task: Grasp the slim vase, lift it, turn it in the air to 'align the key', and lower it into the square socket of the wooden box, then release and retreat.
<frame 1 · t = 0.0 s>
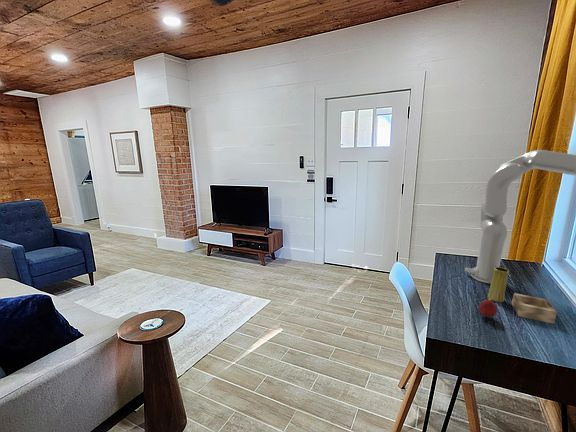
vase: (495, 299, 124), on the table
wooden box: (531, 312, 113), on the table
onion: (486, 317, 110), on the table
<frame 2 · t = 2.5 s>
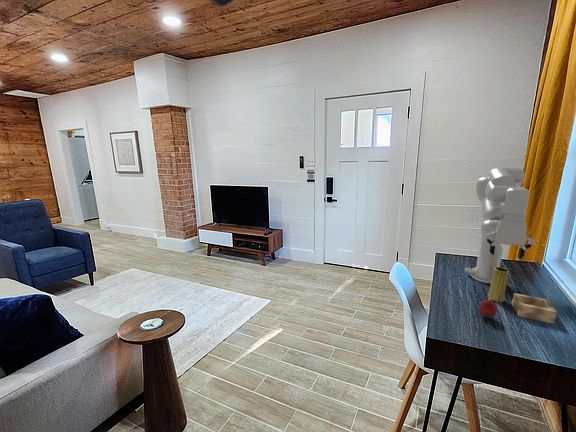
hand: (505, 256, 120), 21 cm above the table, fingers open, 9 cm apart
nothing on the table moved.
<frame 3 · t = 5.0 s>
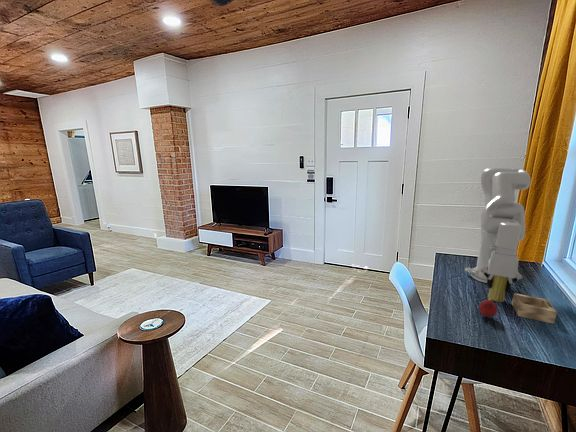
hand: (497, 288, 123), 5 cm above the table, fingers closed on vase, 5 cm apart
vase: (495, 299, 124), on the table, touching gripper
everything else where it was.
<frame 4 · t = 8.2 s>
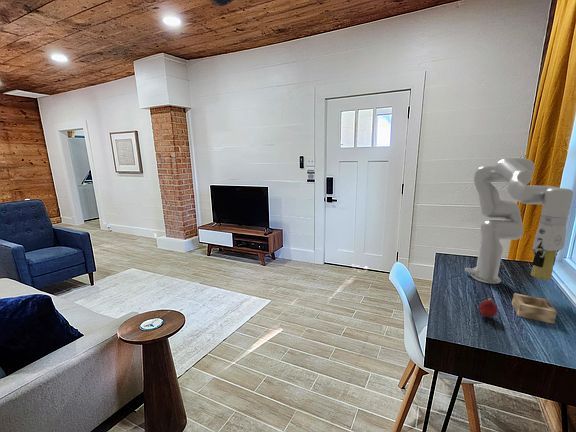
hand: (543, 264, 108), 21 cm above the table, fingers closed on vase, 5 cm apart
vase: (540, 277, 109), point 16 cm above the table, touching gripper
everything else where it was.
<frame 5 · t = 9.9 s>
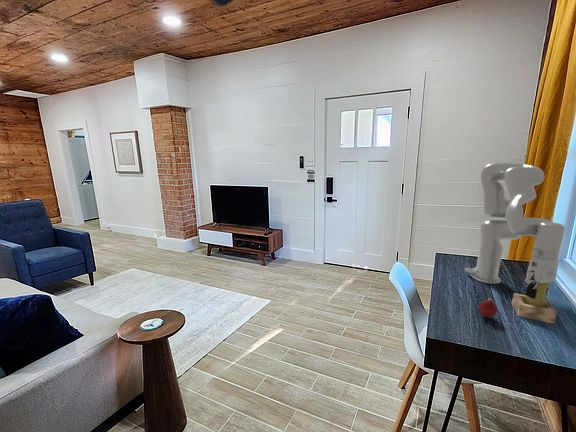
hand: (535, 295, 111), 8 cm above the table, fingers closed on vase, 5 cm apart
vase: (533, 307, 112), point 3 cm above the table, touching gripper
everything else where it was.
when the fingers open (6 cm above the table, at t = 11.4 s): vase drops 1 cm, resting in wooden box.
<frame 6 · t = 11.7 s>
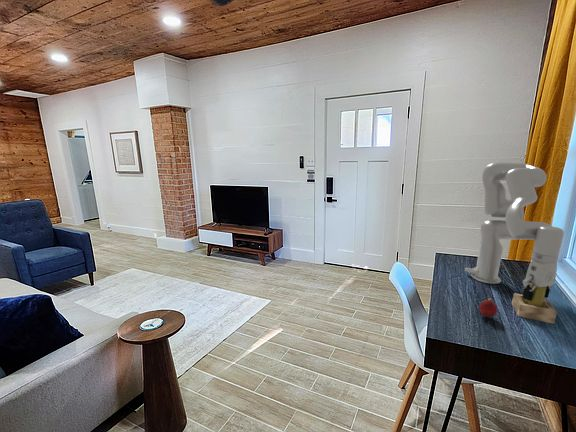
hand: (535, 297, 112), 7 cm above the table, fingers open, 8 cm apart
vase: (531, 313, 113), resting in wooden box
everything else where it was.
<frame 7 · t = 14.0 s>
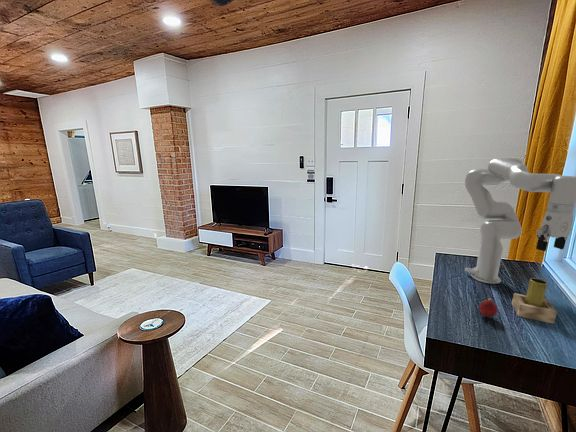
hand: (549, 249, 112), 26 cm above the table, fingers open, 9 cm apart
nothing on the table moved.
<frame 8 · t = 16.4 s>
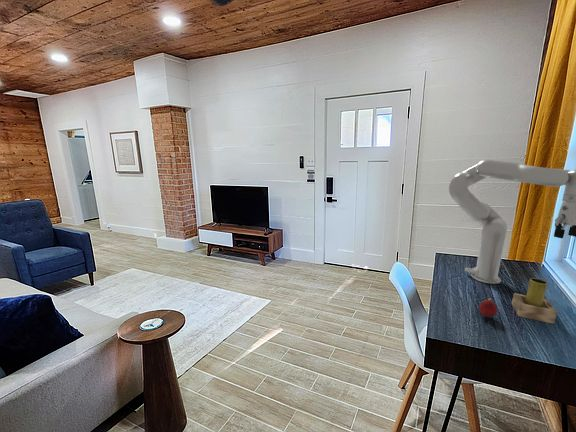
hand: (565, 236, 123), 28 cm above the table, fingers open, 9 cm apart
nothing on the table moved.
at the end: vase 0.1 cm off-centre on the wooden box, point 0.0 cm above the wooden box's base; vase tilted 0°; the gripper is holding nothing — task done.
